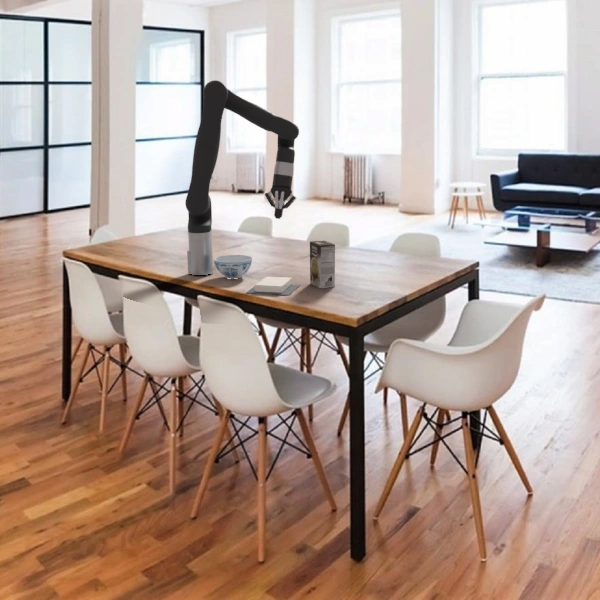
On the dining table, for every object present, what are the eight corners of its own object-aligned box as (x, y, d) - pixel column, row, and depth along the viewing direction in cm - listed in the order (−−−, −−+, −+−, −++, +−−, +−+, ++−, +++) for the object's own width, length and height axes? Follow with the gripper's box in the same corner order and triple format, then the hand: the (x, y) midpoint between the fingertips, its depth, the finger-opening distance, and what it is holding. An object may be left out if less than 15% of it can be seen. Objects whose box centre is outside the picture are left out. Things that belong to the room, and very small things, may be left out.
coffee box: (309, 283, 272) (309, 241, 268) (324, 282, 274) (324, 240, 270) (319, 288, 264) (319, 245, 260) (335, 287, 266) (335, 243, 262)
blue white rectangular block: (266, 283, 272) (255, 292, 259) (266, 276, 272) (255, 284, 258) (292, 284, 270) (282, 293, 257) (292, 277, 269) (281, 286, 256)
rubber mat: (245, 293, 258) (245, 292, 258) (258, 284, 272) (258, 283, 272) (289, 295, 254) (289, 294, 254) (299, 286, 269) (299, 285, 268)
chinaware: (206, 279, 281) (205, 260, 279) (228, 272, 294) (227, 253, 292) (239, 283, 274) (238, 263, 272) (259, 275, 287) (259, 256, 285)
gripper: (264, 171, 282) (259, 216, 284) (297, 175, 279) (291, 220, 281) (269, 173, 289) (264, 216, 291) (301, 177, 286) (296, 220, 288)
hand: (277, 218), depth 286 cm, fingers closed
